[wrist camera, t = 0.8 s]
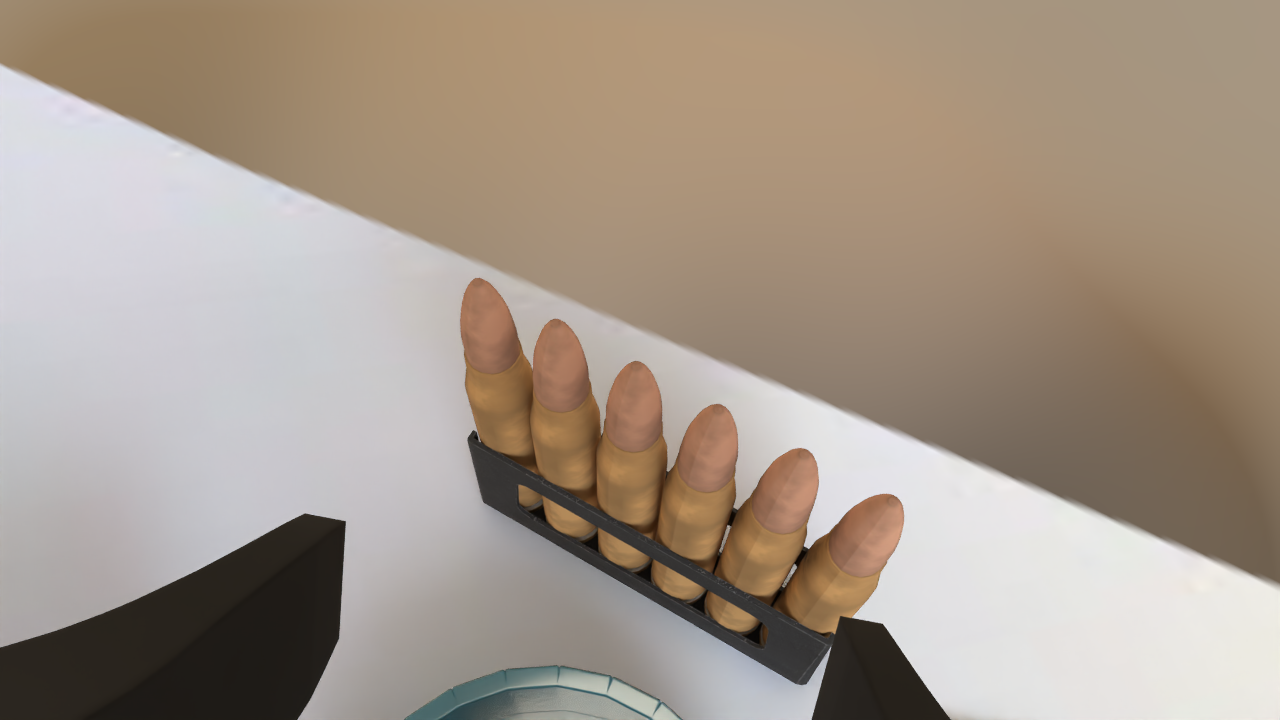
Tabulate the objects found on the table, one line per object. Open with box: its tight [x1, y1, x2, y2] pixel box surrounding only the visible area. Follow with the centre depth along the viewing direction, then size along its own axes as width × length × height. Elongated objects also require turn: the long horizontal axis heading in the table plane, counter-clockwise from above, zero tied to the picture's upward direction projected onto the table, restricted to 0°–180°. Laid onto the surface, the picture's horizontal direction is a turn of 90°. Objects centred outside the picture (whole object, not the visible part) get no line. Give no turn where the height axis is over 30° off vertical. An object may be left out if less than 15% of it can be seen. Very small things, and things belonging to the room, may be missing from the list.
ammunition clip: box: [460, 278, 904, 685], centre depth 24 cm, size 11×2×12 cm, turn 60°
